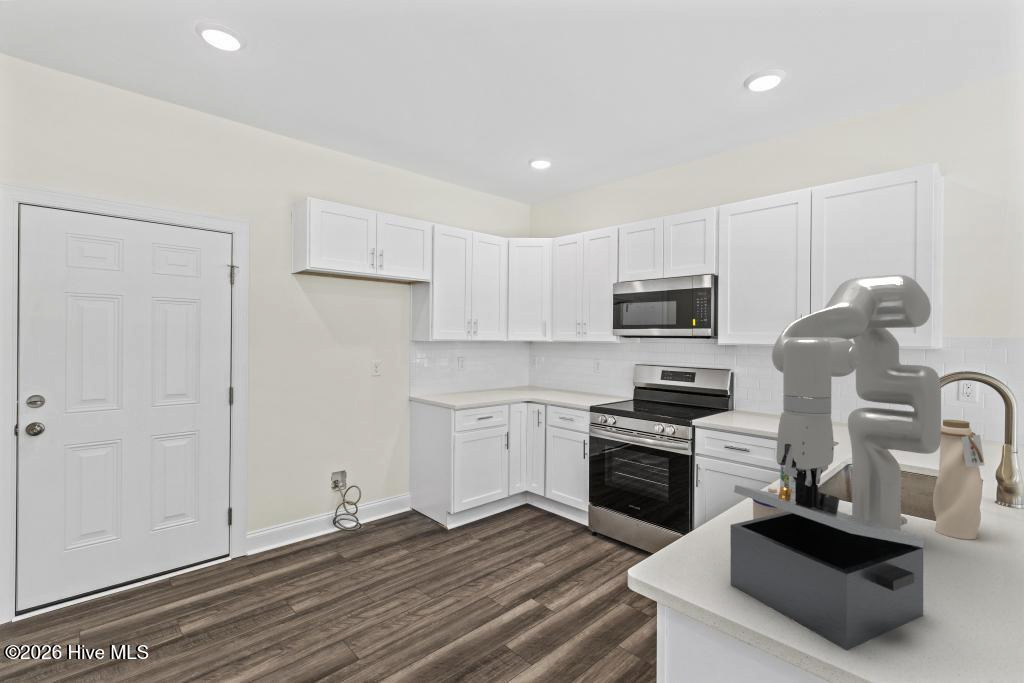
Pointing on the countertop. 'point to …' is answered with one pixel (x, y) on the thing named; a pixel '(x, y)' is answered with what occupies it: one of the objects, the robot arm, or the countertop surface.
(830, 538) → the grey lidded box
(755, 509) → the teacup with lid
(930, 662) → the countertop surface
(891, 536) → the cooker lid
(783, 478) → the syrup box
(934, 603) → the countertop surface
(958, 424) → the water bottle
